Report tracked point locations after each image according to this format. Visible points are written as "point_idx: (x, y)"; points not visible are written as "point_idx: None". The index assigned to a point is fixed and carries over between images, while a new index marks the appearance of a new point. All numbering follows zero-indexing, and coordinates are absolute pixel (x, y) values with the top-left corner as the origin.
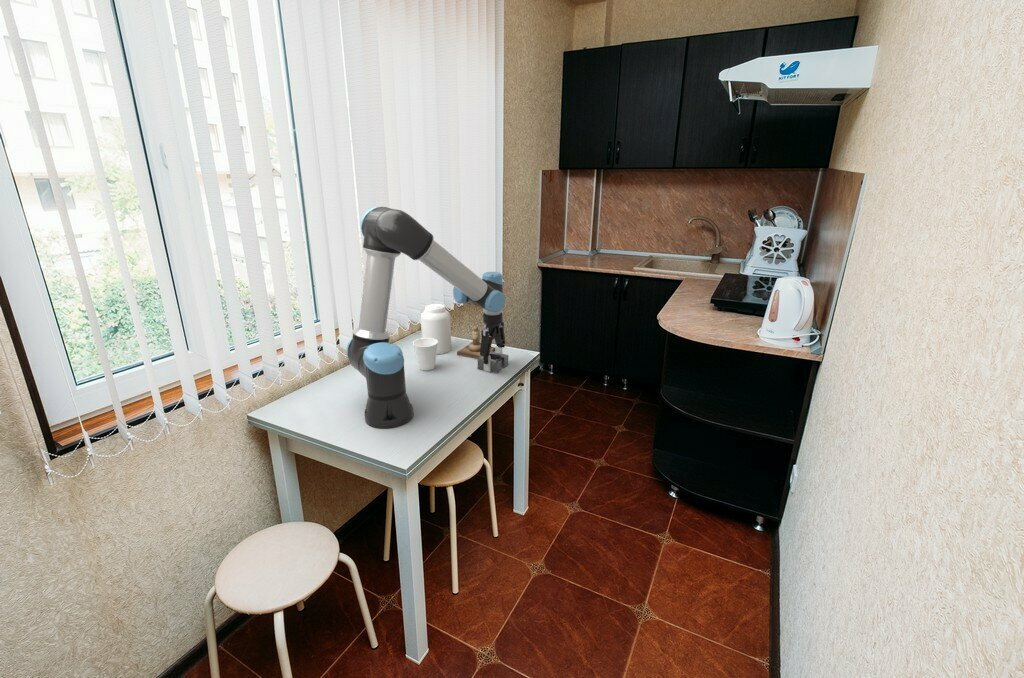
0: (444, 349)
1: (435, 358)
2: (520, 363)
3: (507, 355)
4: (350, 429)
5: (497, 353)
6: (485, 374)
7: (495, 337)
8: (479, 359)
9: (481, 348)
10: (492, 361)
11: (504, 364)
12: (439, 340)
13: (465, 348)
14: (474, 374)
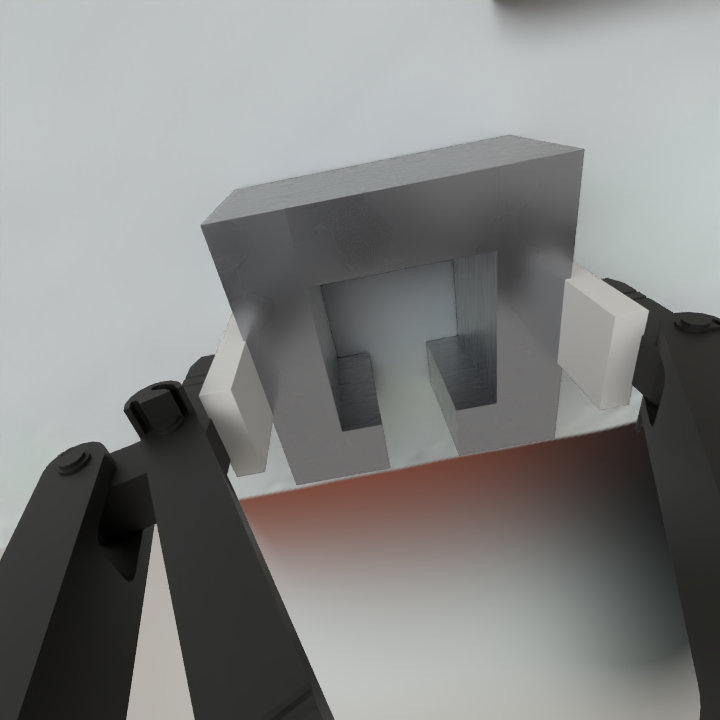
0: None
1: None
2: (590, 408)
3: (533, 441)
4: None
5: (539, 325)
6: (206, 343)
7: (710, 542)
8: (216, 258)
9: (12, 587)
10: (280, 437)
11: (439, 402)
12: None
13: None
14: (111, 263)
